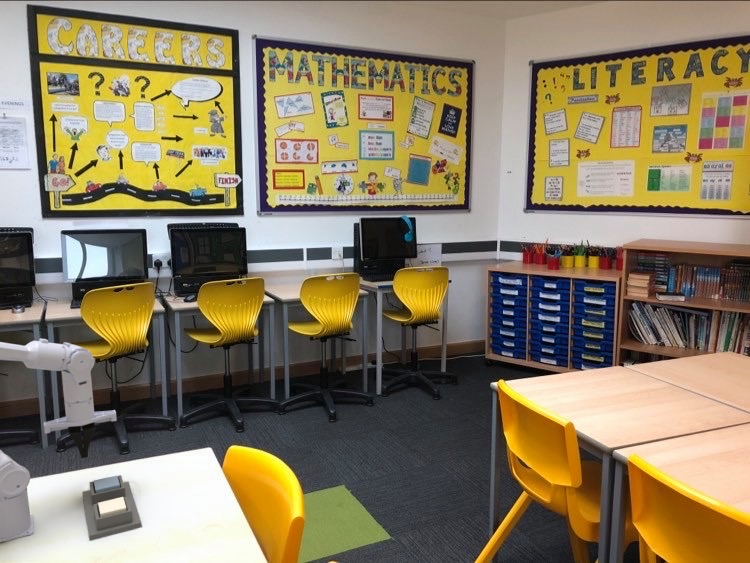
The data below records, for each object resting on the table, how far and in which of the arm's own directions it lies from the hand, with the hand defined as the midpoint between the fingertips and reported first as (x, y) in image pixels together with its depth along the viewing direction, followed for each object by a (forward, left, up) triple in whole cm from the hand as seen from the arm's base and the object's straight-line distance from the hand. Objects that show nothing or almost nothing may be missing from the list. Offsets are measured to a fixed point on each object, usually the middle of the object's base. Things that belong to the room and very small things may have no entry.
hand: (84, 456), depth 140 cm
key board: (+4, -8, -10) cm, 14 cm away
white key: (+4, -13, -8) cm, 16 cm away
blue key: (+4, -3, -8) cm, 10 cm away
